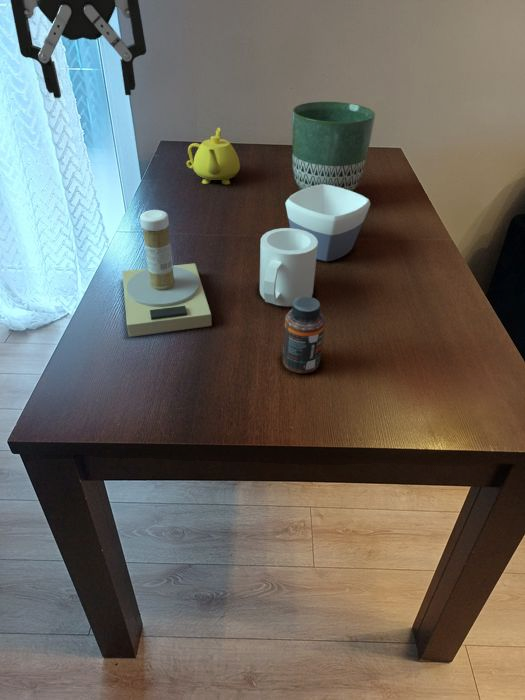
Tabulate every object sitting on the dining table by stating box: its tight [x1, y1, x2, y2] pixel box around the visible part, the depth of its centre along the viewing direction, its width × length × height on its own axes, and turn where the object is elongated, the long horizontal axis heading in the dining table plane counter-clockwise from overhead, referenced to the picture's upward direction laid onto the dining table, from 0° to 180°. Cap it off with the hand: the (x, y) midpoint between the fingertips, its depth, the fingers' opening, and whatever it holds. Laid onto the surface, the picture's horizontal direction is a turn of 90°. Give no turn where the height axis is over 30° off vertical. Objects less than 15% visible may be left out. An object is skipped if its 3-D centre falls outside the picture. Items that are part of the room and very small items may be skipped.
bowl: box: [285, 184, 371, 262], centre depth 105 cm, size 15×15×11 cm
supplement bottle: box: [282, 296, 326, 374], centre depth 75 cm, size 6×6×11 cm
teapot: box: [186, 126, 241, 185], centre depth 136 cm, size 20×15×12 cm
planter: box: [291, 101, 376, 192], centre depth 124 cm, size 20×20×21 cm
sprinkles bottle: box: [139, 209, 175, 290], centre depth 86 cm, size 5×5×13 cm
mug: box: [259, 227, 318, 307], centre depth 90 cm, size 14×10×11 cm
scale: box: [121, 262, 213, 338], centre depth 90 cm, size 14×18×3 cm
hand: (93, 95), depth 62 cm, fingers open, 8 cm apart
